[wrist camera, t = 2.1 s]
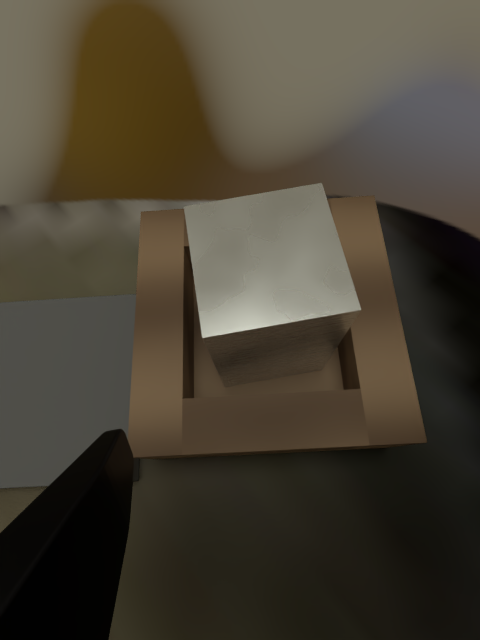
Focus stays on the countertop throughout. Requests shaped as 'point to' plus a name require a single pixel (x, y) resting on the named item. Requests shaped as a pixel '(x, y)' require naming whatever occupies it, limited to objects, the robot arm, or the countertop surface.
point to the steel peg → (270, 283)
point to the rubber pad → (61, 382)
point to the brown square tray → (274, 394)
